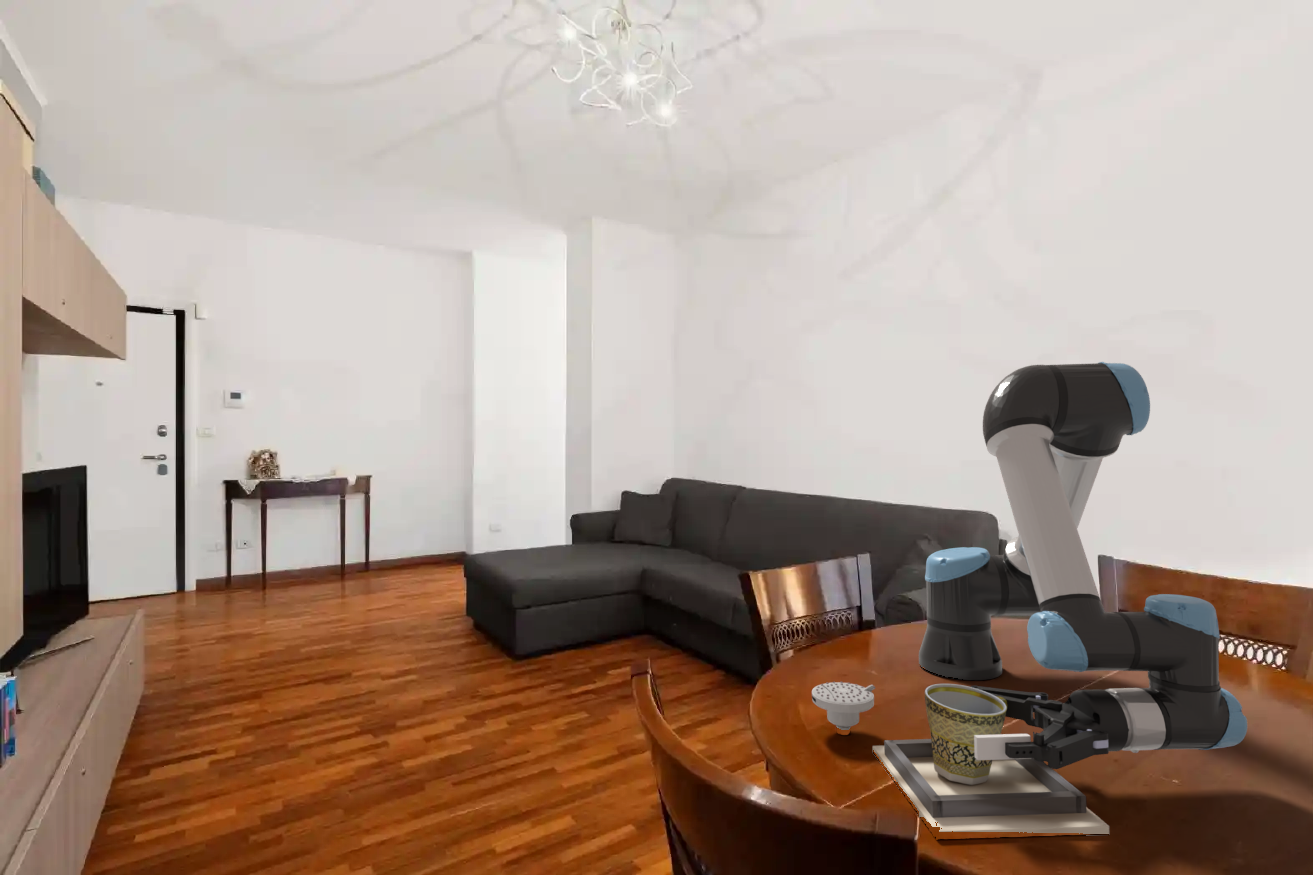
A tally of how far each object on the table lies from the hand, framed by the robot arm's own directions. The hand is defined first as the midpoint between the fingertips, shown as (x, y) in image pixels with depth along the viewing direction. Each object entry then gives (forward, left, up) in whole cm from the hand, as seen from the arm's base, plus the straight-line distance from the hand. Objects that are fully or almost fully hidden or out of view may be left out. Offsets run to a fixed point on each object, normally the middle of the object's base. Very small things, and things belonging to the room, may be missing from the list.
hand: (950, 724), depth 89 cm
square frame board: (0, +3, -9) cm, 9 cm away
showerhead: (-18, -9, -9) cm, 22 cm away
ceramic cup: (-2, +3, -8) cm, 9 cm away
